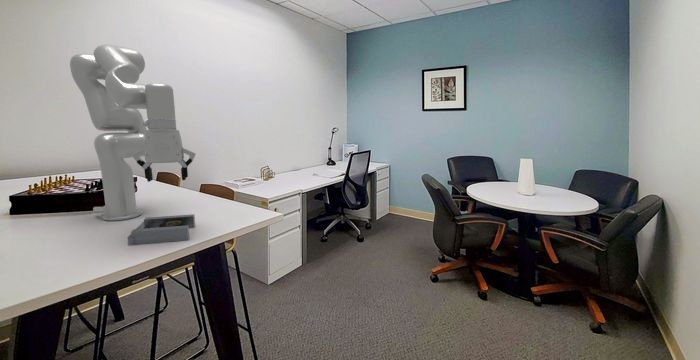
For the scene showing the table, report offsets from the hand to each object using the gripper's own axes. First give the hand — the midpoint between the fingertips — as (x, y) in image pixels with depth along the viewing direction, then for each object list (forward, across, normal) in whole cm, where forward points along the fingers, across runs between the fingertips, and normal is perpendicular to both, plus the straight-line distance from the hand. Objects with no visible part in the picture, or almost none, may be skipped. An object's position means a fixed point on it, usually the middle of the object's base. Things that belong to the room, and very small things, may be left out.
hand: (167, 180), depth 102 cm
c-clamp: (+18, -2, +2) cm, 18 cm away
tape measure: (+18, -1, 0) cm, 18 cm away
